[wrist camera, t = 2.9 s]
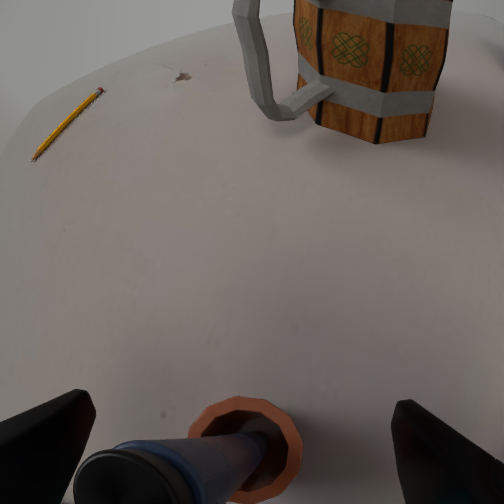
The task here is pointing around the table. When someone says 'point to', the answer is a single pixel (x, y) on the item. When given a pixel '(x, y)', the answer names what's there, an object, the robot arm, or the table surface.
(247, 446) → the stylus
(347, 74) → the mug
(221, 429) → the pen cup
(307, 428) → the table surface
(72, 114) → the pencil
